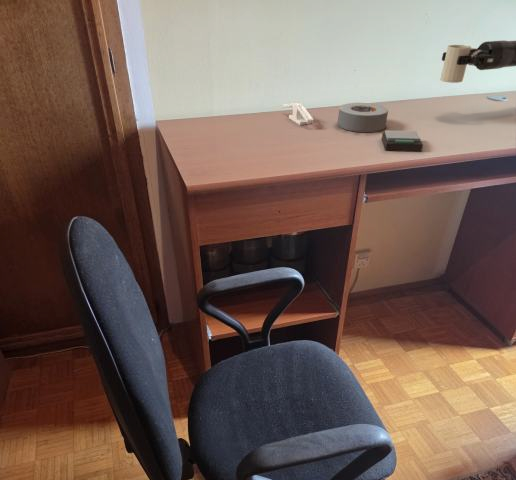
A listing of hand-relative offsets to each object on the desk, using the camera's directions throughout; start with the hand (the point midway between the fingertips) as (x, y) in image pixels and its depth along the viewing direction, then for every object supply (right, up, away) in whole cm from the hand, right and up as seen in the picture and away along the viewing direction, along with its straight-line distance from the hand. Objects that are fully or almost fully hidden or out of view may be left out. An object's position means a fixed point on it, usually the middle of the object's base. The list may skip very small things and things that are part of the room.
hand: (450, 58), depth 137 cm
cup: (+2, -4, +5) cm, 6 cm away
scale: (-17, -29, -7) cm, 35 cm away
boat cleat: (-45, -13, +13) cm, 48 cm away
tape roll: (-25, -16, +9) cm, 31 cm away
